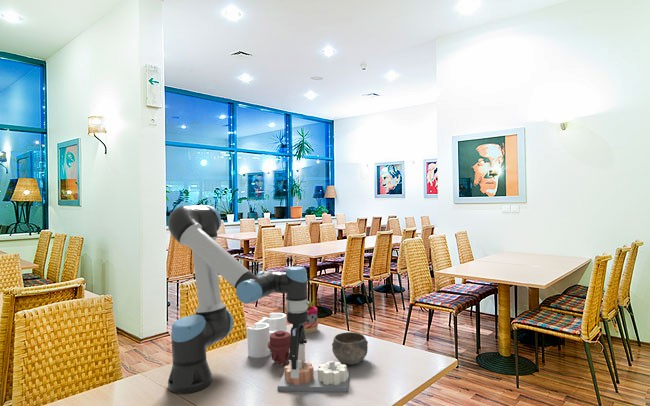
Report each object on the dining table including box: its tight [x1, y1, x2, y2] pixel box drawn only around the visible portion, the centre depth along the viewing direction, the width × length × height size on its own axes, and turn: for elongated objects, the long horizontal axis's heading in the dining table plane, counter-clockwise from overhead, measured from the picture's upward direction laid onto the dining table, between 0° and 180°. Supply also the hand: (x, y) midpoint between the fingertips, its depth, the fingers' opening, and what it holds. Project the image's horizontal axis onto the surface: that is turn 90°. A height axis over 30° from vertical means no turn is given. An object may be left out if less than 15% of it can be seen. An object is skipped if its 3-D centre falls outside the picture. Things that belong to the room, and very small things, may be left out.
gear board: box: [277, 360, 350, 393], centre depth 144 cm, size 24×13×8 cm, turn 84°
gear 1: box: [284, 361, 315, 385], centre depth 145 cm, size 10×10×4 cm
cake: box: [304, 300, 319, 334], centre depth 202 cm, size 10×11×15 cm
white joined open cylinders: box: [246, 312, 288, 359], centre depth 180 cm, size 25×10×12 cm, turn 161°
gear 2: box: [317, 361, 348, 385], centre depth 143 cm, size 10×10×4 cm
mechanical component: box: [268, 331, 291, 367], centre depth 163 cm, size 12×10×10 cm
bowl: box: [331, 331, 369, 366], centre depth 162 cm, size 14×15×10 cm
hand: (298, 369), depth 145 cm, fingers open, 13 cm apart
